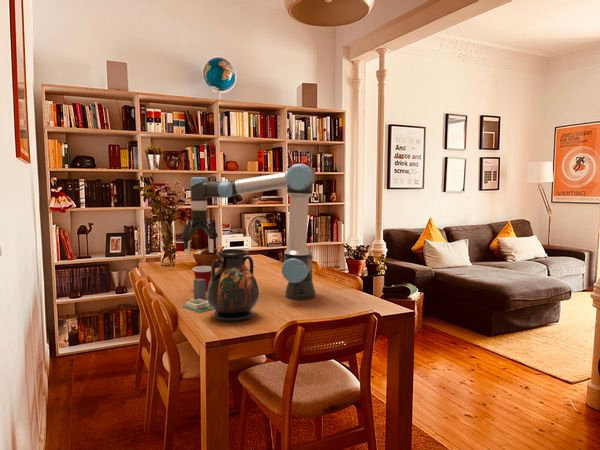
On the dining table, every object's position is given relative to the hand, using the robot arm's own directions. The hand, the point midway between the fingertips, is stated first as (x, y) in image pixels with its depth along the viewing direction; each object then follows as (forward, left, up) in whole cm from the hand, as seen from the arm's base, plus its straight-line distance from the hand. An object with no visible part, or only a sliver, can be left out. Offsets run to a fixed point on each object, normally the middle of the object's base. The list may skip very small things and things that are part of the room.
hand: (199, 253), depth 214 cm
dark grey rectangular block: (-1, +1, -22) cm, 22 cm away
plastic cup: (+13, -12, -22) cm, 28 cm away
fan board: (-12, +10, -22) cm, 27 cm away
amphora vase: (-34, +9, -22) cm, 42 cm away
